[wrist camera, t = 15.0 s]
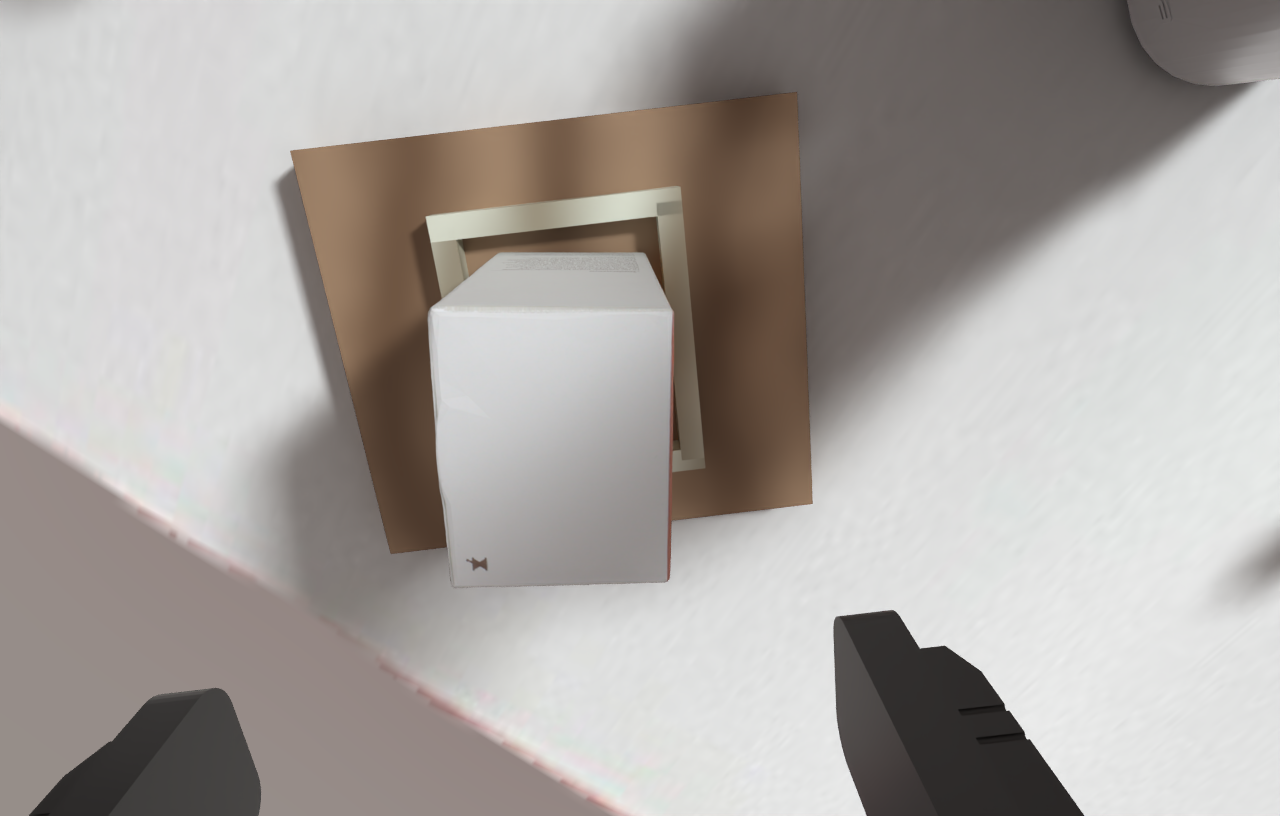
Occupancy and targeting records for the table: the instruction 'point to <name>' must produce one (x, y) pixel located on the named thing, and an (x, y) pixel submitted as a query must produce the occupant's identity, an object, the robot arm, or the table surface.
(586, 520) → the small box
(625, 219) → the base board
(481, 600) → the table surface
